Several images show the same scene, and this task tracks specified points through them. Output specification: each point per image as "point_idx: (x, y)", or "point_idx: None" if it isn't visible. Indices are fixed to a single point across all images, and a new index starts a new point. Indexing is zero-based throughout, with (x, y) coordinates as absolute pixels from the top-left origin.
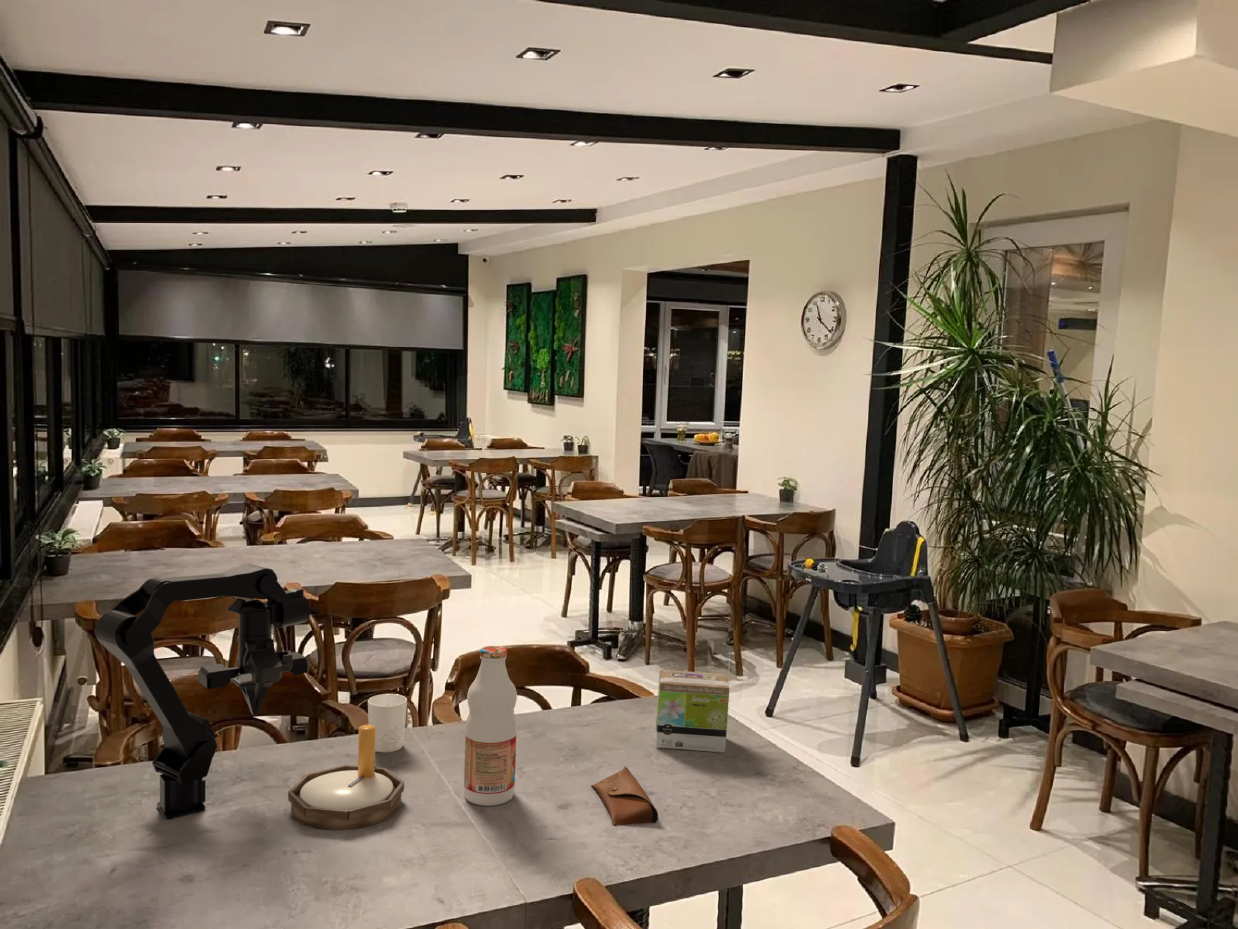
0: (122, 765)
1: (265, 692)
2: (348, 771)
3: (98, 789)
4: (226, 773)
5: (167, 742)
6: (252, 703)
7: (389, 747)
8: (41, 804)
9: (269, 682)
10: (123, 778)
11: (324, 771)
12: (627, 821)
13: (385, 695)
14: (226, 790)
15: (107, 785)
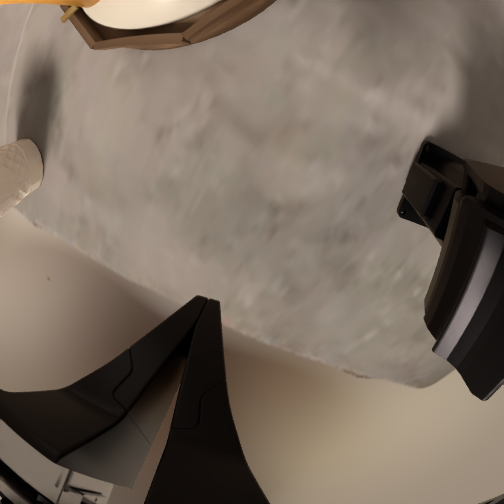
0: (358, 372)
1: (103, 372)
2: (105, 19)
3: (430, 338)
4: (279, 261)
5: None
6: (211, 354)
7: (24, 141)
8: None
9: (24, 422)
10: (390, 346)
11: (141, 35)
12: None
13: None
14: (332, 190)
15: (416, 341)
